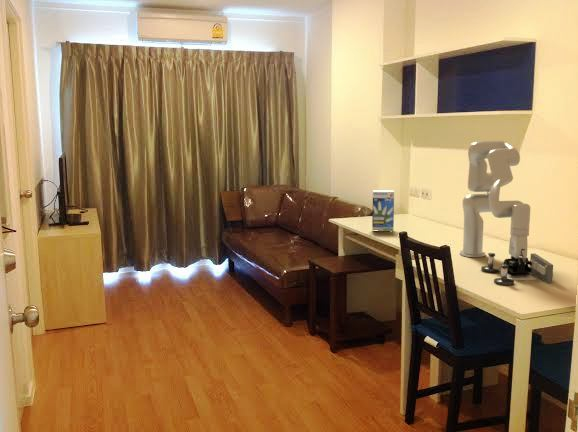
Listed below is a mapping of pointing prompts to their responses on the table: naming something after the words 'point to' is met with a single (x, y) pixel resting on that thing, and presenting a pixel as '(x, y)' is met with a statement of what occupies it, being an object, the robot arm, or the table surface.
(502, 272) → the post right
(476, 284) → the table surface
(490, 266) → the post left
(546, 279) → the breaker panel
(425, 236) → the table surface
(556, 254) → the table surface
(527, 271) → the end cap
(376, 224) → the string lights box
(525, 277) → the view mat
